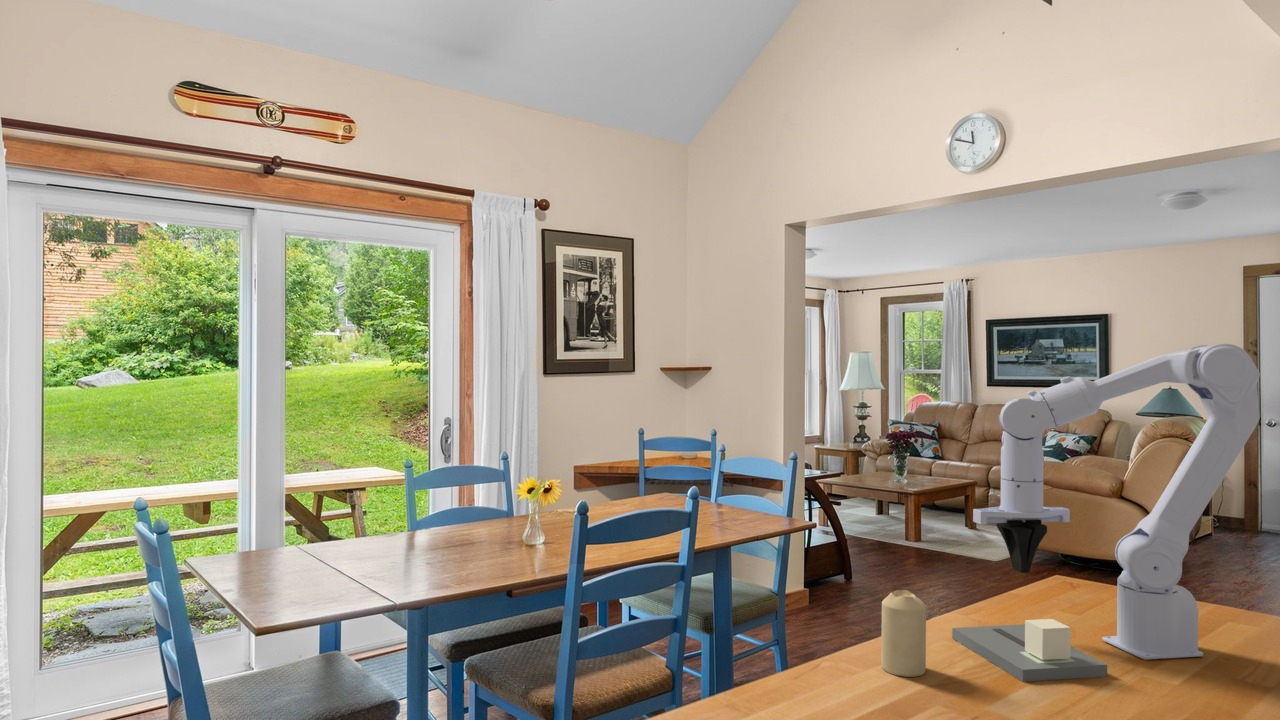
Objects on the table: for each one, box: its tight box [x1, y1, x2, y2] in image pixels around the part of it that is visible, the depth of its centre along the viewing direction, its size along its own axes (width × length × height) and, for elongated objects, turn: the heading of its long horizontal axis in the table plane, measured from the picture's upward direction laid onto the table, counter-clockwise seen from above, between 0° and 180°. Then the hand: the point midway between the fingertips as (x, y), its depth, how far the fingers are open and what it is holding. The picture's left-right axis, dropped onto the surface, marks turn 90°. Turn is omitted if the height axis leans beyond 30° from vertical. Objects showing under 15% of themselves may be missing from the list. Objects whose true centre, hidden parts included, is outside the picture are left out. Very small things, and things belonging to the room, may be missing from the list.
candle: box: [880, 589, 927, 678], centre depth 104 cm, size 6×6×10 cm
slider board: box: [951, 623, 1108, 683], centre depth 109 cm, size 12×16×2 cm
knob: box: [1024, 618, 1071, 660], centre depth 105 cm, size 4×4×4 cm
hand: (1021, 571), depth 118 cm, fingers closed
